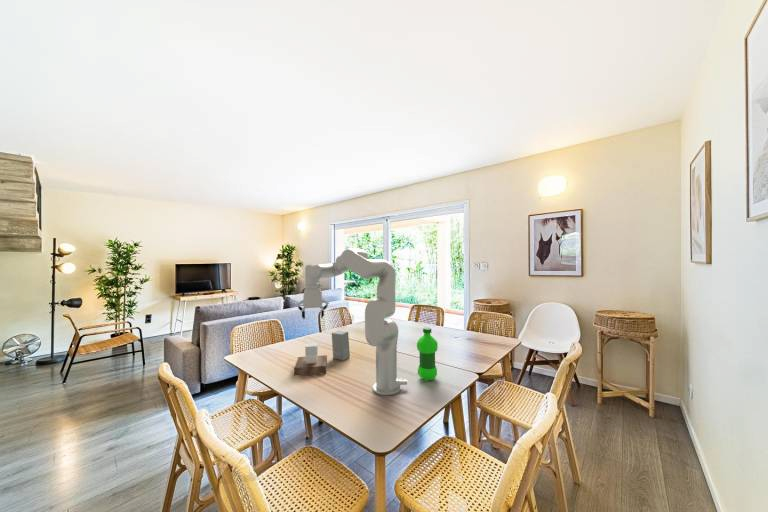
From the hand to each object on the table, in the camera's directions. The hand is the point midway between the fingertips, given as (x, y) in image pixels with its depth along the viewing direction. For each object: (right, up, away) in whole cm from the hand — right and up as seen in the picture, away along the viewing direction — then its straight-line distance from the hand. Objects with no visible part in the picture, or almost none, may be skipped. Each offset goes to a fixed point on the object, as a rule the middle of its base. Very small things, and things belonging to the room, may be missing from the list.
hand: (313, 318), depth 154 cm
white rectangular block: (0, -23, -1) cm, 23 cm away
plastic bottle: (+61, -27, -15) cm, 68 cm away
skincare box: (+13, -28, +15) cm, 34 cm away
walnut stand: (-1, -27, -1) cm, 27 cm away
